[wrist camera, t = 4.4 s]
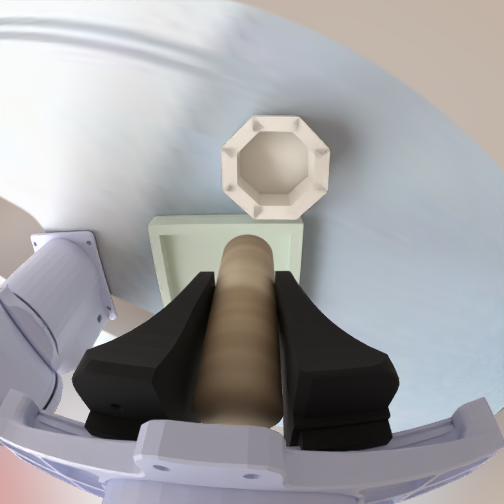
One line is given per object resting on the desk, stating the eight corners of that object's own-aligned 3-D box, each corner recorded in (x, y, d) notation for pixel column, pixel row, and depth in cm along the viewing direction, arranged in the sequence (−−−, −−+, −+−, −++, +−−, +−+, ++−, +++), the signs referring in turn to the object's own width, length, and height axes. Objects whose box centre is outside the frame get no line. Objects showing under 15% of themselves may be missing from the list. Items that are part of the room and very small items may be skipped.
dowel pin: (273, 278, 16) (281, 433, 8) (224, 278, 16) (198, 431, 8) (273, 234, 15) (286, 388, 7) (221, 234, 15) (182, 386, 7)
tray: (292, 318, 26) (294, 332, 25) (173, 316, 27) (169, 329, 25) (300, 214, 21) (303, 223, 20) (155, 215, 22) (147, 225, 20)
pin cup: (317, 204, 21) (325, 220, 18) (228, 204, 21) (224, 219, 19) (321, 116, 18) (331, 118, 15) (225, 115, 18) (219, 117, 16)
